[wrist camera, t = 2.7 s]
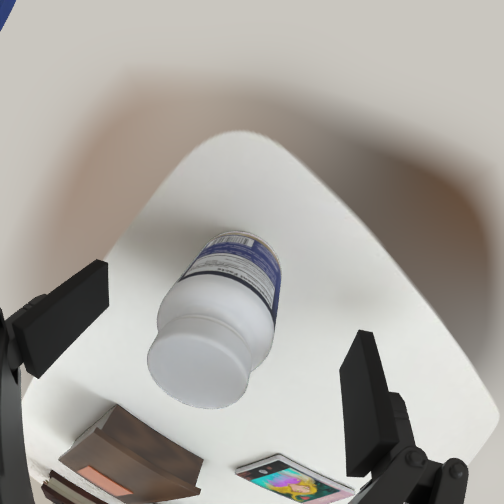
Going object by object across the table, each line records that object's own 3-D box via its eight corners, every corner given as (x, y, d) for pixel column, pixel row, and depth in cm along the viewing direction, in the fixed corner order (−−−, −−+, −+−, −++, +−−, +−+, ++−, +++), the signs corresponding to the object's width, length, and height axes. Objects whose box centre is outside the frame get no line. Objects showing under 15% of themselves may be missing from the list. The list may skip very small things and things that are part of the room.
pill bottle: (246, 319, 21) (212, 434, 12) (184, 271, 20) (111, 366, 11) (300, 267, 19) (297, 380, 10) (233, 211, 18) (170, 287, 9)
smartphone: (278, 458, 26) (356, 494, 28) (279, 453, 27) (356, 490, 29) (233, 473, 29) (313, 508, 31) (234, 468, 29) (313, 503, 32)
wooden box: (71, 438, 35) (57, 460, 30) (113, 399, 28) (92, 433, 23) (139, 483, 37) (128, 506, 32) (209, 461, 30) (199, 496, 25)
